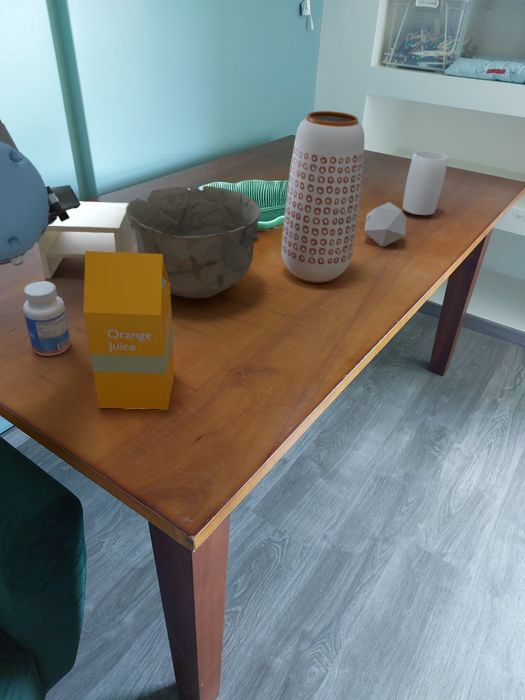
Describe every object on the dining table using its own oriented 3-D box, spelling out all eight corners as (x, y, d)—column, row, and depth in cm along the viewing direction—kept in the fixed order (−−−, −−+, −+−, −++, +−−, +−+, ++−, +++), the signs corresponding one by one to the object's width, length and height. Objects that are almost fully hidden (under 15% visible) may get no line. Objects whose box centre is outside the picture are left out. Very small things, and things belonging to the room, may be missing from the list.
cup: (393, 210, 133) (404, 151, 125) (419, 206, 137) (432, 149, 129) (415, 222, 127) (429, 161, 119) (442, 217, 131) (457, 158, 123)
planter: (297, 294, 95) (313, 127, 79) (268, 262, 105) (278, 108, 89) (361, 284, 100) (390, 124, 83) (328, 254, 110) (348, 106, 93)
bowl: (237, 256, 107) (240, 181, 98) (275, 310, 90) (281, 226, 81) (125, 267, 100) (117, 188, 92) (143, 328, 84) (135, 238, 75)
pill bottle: (31, 339, 80) (18, 280, 74) (69, 333, 81) (59, 276, 76) (33, 360, 75) (18, 299, 70) (73, 353, 77) (62, 294, 72)
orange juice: (111, 372, 74) (92, 236, 63) (175, 374, 74) (168, 240, 63) (98, 409, 68) (74, 266, 56) (168, 411, 68) (159, 270, 57)
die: (376, 233, 122) (358, 201, 116) (415, 221, 117) (398, 187, 111) (373, 260, 117) (354, 227, 111) (413, 249, 113) (395, 214, 106)
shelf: (44, 278, 95) (34, 225, 89) (62, 250, 105) (53, 200, 99) (124, 280, 96) (118, 227, 90) (134, 252, 106) (130, 203, 100)
